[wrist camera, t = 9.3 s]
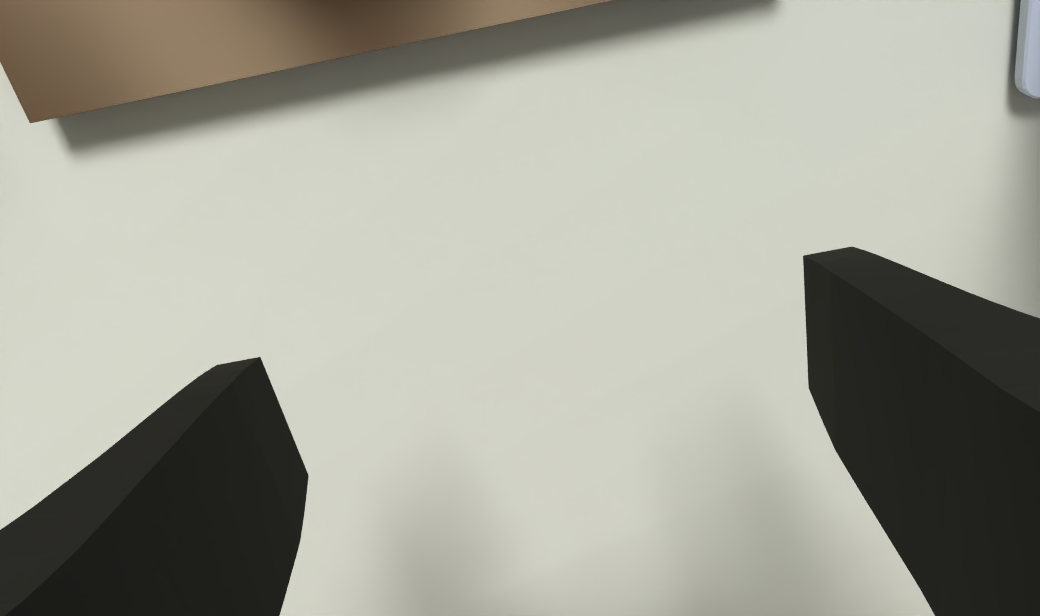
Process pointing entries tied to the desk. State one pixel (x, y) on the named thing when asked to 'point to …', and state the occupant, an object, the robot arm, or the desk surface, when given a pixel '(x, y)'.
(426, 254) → the desk surface
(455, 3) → the post board
